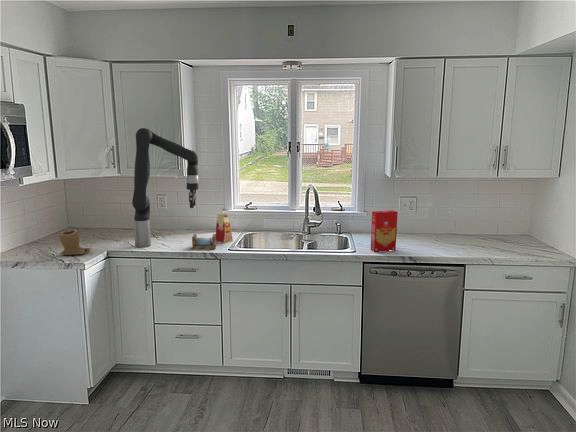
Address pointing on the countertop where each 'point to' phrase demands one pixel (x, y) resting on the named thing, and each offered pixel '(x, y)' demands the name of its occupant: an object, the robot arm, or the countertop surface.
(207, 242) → the cylinder
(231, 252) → the countertop surface
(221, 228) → the milk carton
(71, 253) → the tan hollow boot-shaped piece
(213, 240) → the cradle
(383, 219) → the food packaging
